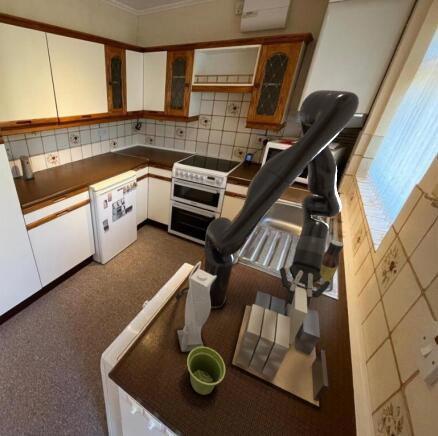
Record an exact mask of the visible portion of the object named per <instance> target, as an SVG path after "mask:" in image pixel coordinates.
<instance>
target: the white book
mask: <svg viewBox="0 0 438 436" xmlns="http://www.w3.org/2000/svg"><path fill="white" fill-rule="evenodd" d="M294 292H295V293H294V297H293V301H292V304H289V303H288V302H287V304H286V305H285V315H284V316H287V317H289V318H290V336H289V344H292V342H293V340H294V338H295V336H296V334H297V332H298V330H299V329H300V327H301V325H302V323H303V321H304V319H305V317H306V315H307V292H306V289H305V288H303V287H299V286H298V285H297V286H296V288H295V290H294Z"/></svg>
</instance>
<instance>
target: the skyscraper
mask: <svg viewBox="0 0 438 436" xmlns="http://www.w3.org/2000/svg"><path fill="white" fill-rule="evenodd" d="M201 264H202V261H201V260H200V261H198V262H197V263H196V264H195V266H194V267H193V268H192V269H191V272H190V274H189V276H188V283H189V286H188V287H189V289H187V294H186V300H185V305H184V306H185V307H184V327H183V329H178V330H176V333H177V338H178V342H179V347H180V350H181V352H182V353H187V352H191V351H192V350H193V349H195V348H197V347H205V346H204V343H203V340H202V336H201V335H202V328H203V326H204V324H206V322H207V320H208V318H209V317H210V314H211V309H212V308H211V300H210V294H209V293H210V287H211V284H212V283H213V281H214V280H215V279H216V277H217V276H216V275H215V276H213V275H211V274H209V273H207V272H205V271H203V270H204V269H201ZM195 269H196V271H195ZM194 271H195V272H194Z"/></svg>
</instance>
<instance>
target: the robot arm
mask: <svg viewBox="0 0 438 436" xmlns="http://www.w3.org/2000/svg"><path fill="white" fill-rule="evenodd" d="M359 104H360V98H359V96H358V95H357V94H356V93H354V92H352V91H346V90H328V89H321V90H315V91H313V92H311V93H310V94H308V95H307V96H306V97H305V98H304V100H303V101H302V103H301V105H300V107H299V114H298V115H299V124H300V129H301V133H302V137H301V138H300V139H299V140H297V141H295V143H293V144H292V145H290V146H288V147H286V148H285V149H283V150H282V151H280V152H278V153H277V154H275V155H273V156H272V157H271V158H269V159H268V160H267V161H266V162H265V163H264V164H262V166H261V167H260V168H259V169H258V171H257V172H256V173H255V175H254V176H253V178H252V179H251V180H250V182H249V185H248V187H247V190H246V195H245V198H244V203H243V205H242V209H241V210H240V212H239V214H238V216H237V217H236V218H235V219H234V221H232V220H231V219H229V218H227V217H222V216H221V217H217V218H215V219H213V220H212V221H211V222H210V223H209V225H208V226H207V228H206V232H205V239H204V241H205V242H204V247H203V249H204V250H203V251H204V257H205V258H204V263H203V264H204V265H203V269H202V270H203V271H205V272H207V273H209V274H211V275H213V276H215V275H216V276H217V277H216V279H215V280H214V281H213V283H212V284H211V287H210V293H209V294H210V300H211V309H214V310H215V309H220V308H222V307H223V306H224V305H225V302H226V299H227V292H228V288H229V285H230V281H231V280H230V279H231V275H232V271H233V267H234V264H233V263H234V258H233V255H232V254H234V253H235V252H237V251H238V250H239V249H240V250H241V249H242V247H244V246H245V244H246V242H247V241H248V240H249V238H250V237H251V235H252V234H253V233H254V230H255V229H256V228H257V227H258V226H259V224H260V223H261V221H262V220H263V219H264V218H265V216H266V215H267V214H268V212H269V211H270V210H271V209H272V207H273V206H275V204H276V203H277V202H278V201H279V199H281V197H282V196H283V195H284V194H285V193H286V192H287V190H289V188H290V187H291V186H292V184H294V183H295V181H296V180H297V179H298V177H299V176H300V175H301V174H302V173H303V171H304V170H305V169H306V168H307V190H308V192H309V193H310V194H308V195H306V196H305V197H304V198H303V199H302V201H301V211H302V224H301V225H302V226H301V230H300V234H299V237H298V240H297V243H296V246H295V250H294V255H293V259H292V263H291V265H290V266H289V267H283V266H282V267H281V268H280V269H279V273H280V274H279V275H280V278H281V284H282V287H283V288H285V289H286V290H287V295H286V301H287V304H288V303H289V304H292V301H293V297H294V293H295V292H294V290H295V288H296V286H297V287H298V285H299V284H302V285H304V289H306V292H307V308H308V309H309V307H310V303H311V299H312V298H319V297H320V296H321V295H322V294H323V293H324V292H325V291H326V290H327V289H328V287H329V286H331V283H330V282H329V281H326V280H324V279H323V278H321V274H320V270H321V266H322V262H323V257H324V253H325V252H326V243H327V238H328V235H329V230H330V227H329V225H328V224H327V223H326V222H324V221H321V220H317V219H315V218H313V217H321V218H329V219H330V218H335V217H337V216H338V215H340V212H341V211H342V203H341V199H340V197H339V194H338V191H337V176H338V175H337V173H338V169H337V167H338V166H337V163H336V160H335V159H336V158H335V157H334V154H333V152H332V150H331V148H330V145H329V144H330V143H331V142H332V141H333V140H334V139H335V138H336V137H337V136H338V135H339V134H340V133H341V132H342V131H343V130H344V129H345V128H346V127H347V125H349V124H350V122H351V121H352V120H353V118H354V117H355V115H356V113H357V111H358V109H359ZM289 273H290V275H291V278H292V280H291V283H290V284H289V279H288V275H289ZM318 280H319V285H320V286H319V287H317V288H316V290H315V291H314V292H313V287H314V285H313V283H315V282H316V281H318ZM189 287H190V286H186V287H184V288H182V289H181V291H178V293H176V294H175V296H174V298H175V299H176V300H178V299H179V298H181V297H182V295H183V293H184V292H185V291H188V290H189Z"/></svg>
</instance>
